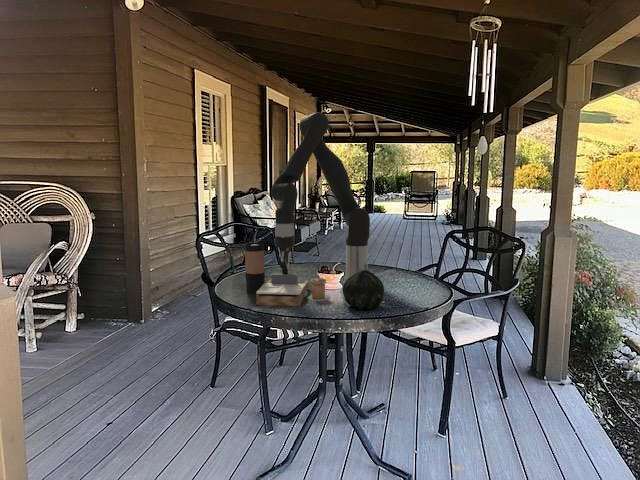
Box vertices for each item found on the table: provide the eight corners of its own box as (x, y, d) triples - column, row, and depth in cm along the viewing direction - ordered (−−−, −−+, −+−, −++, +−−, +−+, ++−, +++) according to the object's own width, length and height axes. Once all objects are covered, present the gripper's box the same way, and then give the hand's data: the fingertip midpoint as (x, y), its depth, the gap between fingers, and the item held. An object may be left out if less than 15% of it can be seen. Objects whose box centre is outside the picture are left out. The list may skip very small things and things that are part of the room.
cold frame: (308, 291, 206) (308, 280, 206) (299, 307, 183) (299, 295, 182) (270, 290, 208) (269, 279, 207) (256, 306, 184) (256, 294, 184)
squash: (362, 284, 195) (348, 259, 186) (396, 291, 186) (382, 266, 176) (345, 314, 189) (329, 290, 179) (379, 323, 179) (364, 298, 170)
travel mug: (242, 294, 202) (241, 245, 199) (251, 289, 209) (250, 242, 206) (259, 296, 199) (258, 246, 196) (268, 291, 206) (267, 243, 203)
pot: (326, 295, 196) (326, 278, 195) (325, 300, 190) (325, 281, 189) (311, 295, 196) (311, 277, 195) (309, 299, 191) (309, 281, 190)
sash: (305, 285, 197) (305, 274, 196) (299, 294, 182) (299, 282, 182) (265, 284, 198) (264, 273, 198) (256, 293, 184) (256, 281, 183)
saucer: (331, 296, 197) (331, 294, 197) (329, 303, 189) (329, 301, 188) (308, 296, 198) (308, 294, 198) (305, 302, 190) (305, 300, 189)
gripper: (278, 232, 203) (279, 274, 206) (271, 236, 190) (272, 281, 193) (297, 232, 202) (297, 274, 205) (291, 237, 189) (291, 282, 192)
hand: (285, 278), depth 199 cm, fingers closed
